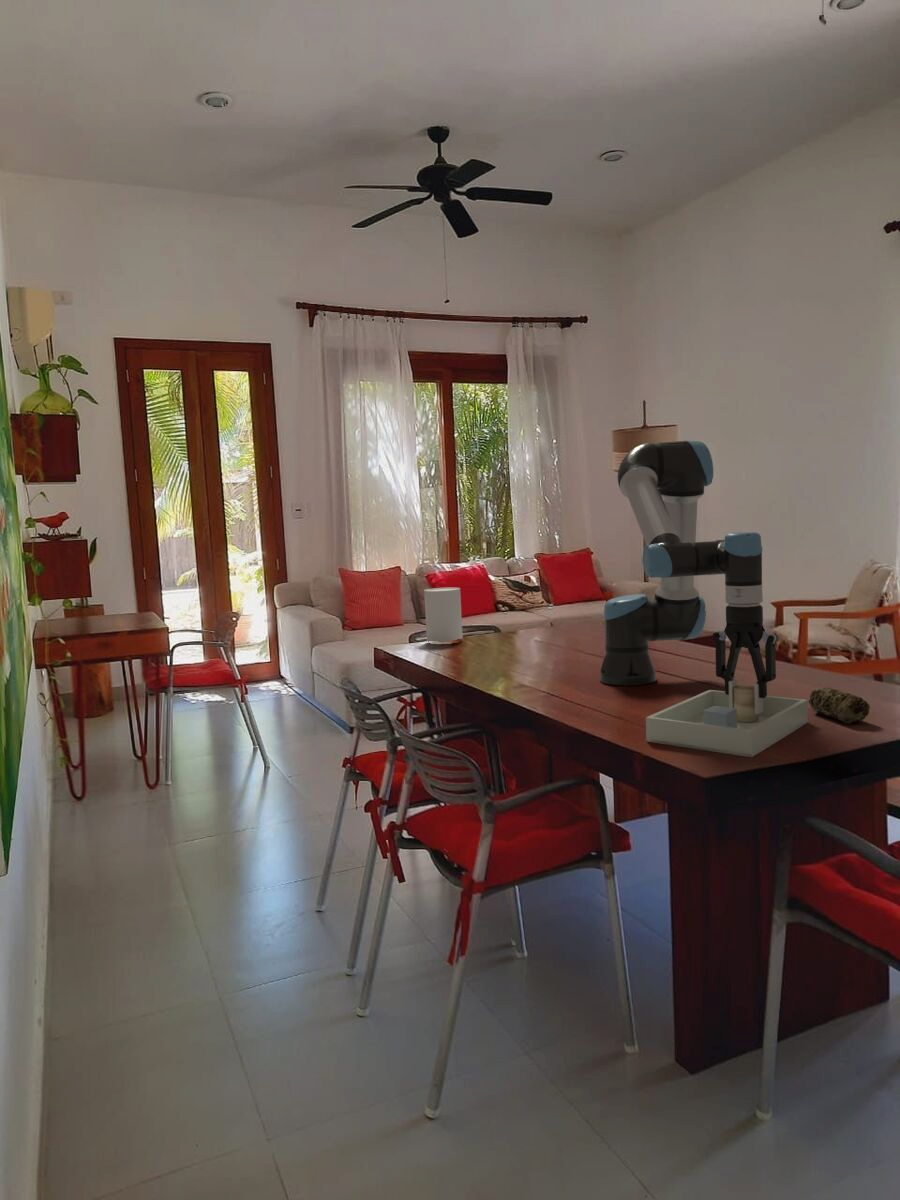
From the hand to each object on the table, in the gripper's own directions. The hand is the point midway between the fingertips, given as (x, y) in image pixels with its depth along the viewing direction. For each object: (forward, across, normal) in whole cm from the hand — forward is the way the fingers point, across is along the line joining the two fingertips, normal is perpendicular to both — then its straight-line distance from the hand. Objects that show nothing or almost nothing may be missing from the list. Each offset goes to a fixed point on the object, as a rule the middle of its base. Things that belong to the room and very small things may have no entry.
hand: (746, 710), depth 188 cm
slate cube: (+2, 0, -13) cm, 13 cm away
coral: (+3, +15, +13) cm, 20 cm away
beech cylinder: (+2, 0, 0) cm, 2 cm away
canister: (+2, -141, +60) cm, 153 cm away
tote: (+3, 0, -9) cm, 9 cm away
